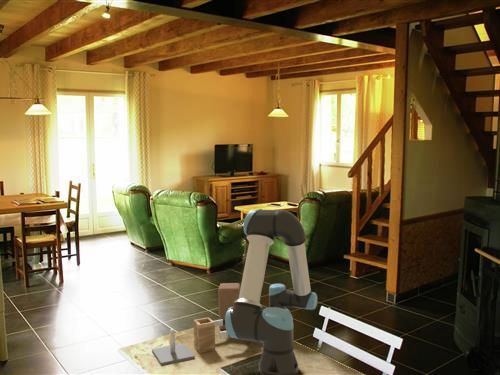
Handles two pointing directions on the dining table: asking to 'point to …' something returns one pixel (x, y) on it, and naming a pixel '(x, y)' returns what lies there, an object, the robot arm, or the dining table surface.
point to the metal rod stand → (172, 352)
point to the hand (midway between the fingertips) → (214, 330)
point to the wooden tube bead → (204, 334)
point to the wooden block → (227, 298)
